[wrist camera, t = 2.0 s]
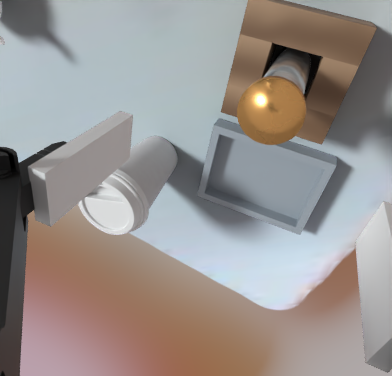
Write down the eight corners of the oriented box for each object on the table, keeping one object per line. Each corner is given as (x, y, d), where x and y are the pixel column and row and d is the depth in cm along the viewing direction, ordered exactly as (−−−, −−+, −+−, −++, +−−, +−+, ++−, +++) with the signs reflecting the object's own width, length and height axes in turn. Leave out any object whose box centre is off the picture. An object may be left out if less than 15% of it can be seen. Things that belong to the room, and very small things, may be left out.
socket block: (258, -6, 35) (249, -4, 31) (371, 22, 33) (377, 28, 29) (231, 99, 42) (220, 112, 38) (322, 128, 40) (321, 144, 36)
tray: (219, 118, 44) (213, 124, 42) (336, 156, 41) (336, 165, 39) (202, 187, 51) (196, 196, 49) (301, 224, 48) (299, 234, 46)
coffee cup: (194, 141, 47) (147, 196, 35) (178, 190, 53) (133, 251, 41) (136, 116, 48) (72, 160, 36) (127, 166, 54) (69, 219, 42)
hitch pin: (279, 37, 36) (247, 70, 23) (323, 48, 35) (316, 91, 22) (265, 80, 39) (230, 133, 26) (305, 92, 38) (290, 153, 25)
